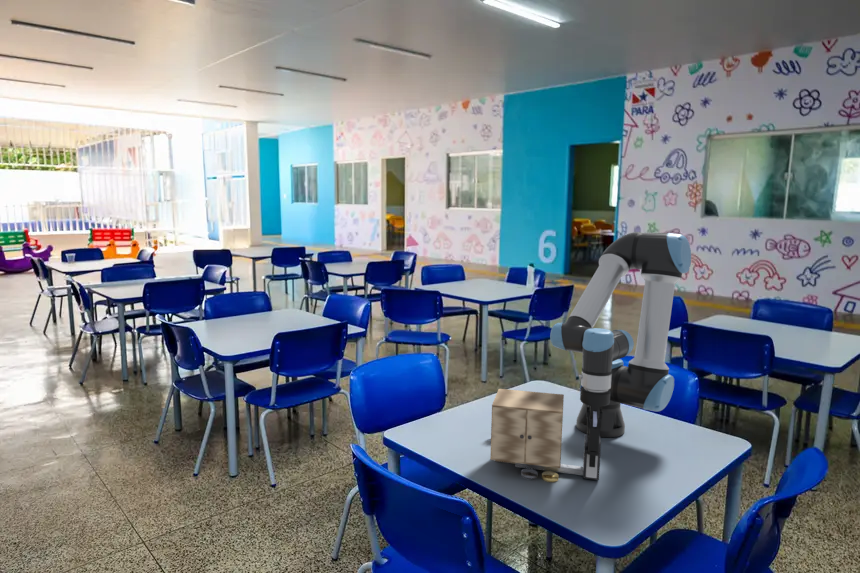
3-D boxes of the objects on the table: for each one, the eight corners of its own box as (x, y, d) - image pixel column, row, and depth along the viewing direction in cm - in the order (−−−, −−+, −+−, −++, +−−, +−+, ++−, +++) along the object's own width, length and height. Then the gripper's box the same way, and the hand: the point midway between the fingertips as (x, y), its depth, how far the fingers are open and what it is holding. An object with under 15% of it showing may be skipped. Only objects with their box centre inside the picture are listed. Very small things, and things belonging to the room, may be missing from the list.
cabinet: (560, 463, 157) (563, 394, 155) (559, 488, 143) (562, 413, 140) (496, 455, 162) (498, 388, 159) (489, 479, 147) (491, 406, 145)
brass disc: (558, 476, 150) (558, 472, 150) (558, 484, 146) (558, 479, 146) (542, 474, 151) (542, 470, 151) (541, 482, 147) (541, 477, 147)
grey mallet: (598, 471, 151) (600, 436, 150) (598, 480, 147) (601, 443, 145) (516, 461, 157) (517, 427, 155) (514, 469, 152) (515, 434, 151)
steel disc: (537, 473, 151) (538, 469, 151) (537, 481, 147) (537, 477, 147) (521, 471, 152) (521, 467, 152) (520, 479, 148) (520, 475, 148)
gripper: (580, 377, 156) (576, 456, 159) (581, 397, 139) (576, 486, 142) (608, 379, 154) (603, 459, 157) (612, 400, 137) (607, 490, 140)
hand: (590, 472), depth 149 cm, fingers closed on grey mallet, 5 cm apart
